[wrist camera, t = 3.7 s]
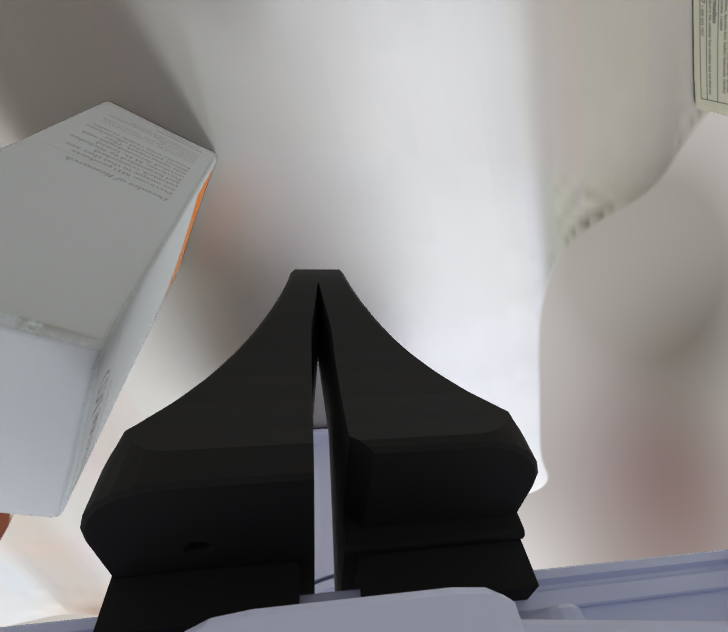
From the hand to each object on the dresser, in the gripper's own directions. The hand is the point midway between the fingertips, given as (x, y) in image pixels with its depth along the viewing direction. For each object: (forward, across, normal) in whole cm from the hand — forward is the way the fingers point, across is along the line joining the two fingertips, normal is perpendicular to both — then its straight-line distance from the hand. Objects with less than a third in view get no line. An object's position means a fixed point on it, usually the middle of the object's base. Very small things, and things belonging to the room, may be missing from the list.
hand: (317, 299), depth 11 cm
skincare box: (+8, +7, 0) cm, 11 cm away
